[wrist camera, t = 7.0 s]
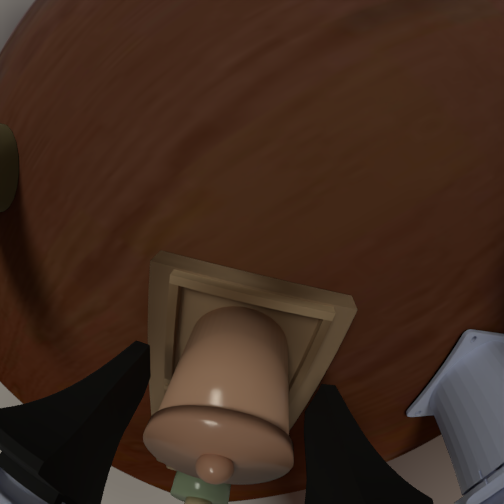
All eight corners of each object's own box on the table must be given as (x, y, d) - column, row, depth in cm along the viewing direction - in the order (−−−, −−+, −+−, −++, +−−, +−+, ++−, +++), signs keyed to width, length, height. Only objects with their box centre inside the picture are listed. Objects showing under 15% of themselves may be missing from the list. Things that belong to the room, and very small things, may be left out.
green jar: (237, 457, 17) (229, 513, 12) (229, 474, 18) (222, 521, 14) (181, 445, 17) (165, 499, 12) (181, 463, 18) (168, 509, 14)
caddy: (351, 295, 12) (360, 315, 11) (252, 472, 20) (250, 486, 18) (160, 250, 12) (145, 265, 11) (160, 451, 20) (155, 464, 18)
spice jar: (303, 314, 11) (318, 465, 5) (277, 387, 13) (271, 508, 7) (191, 292, 11) (121, 427, 5) (186, 368, 13) (144, 482, 7)
